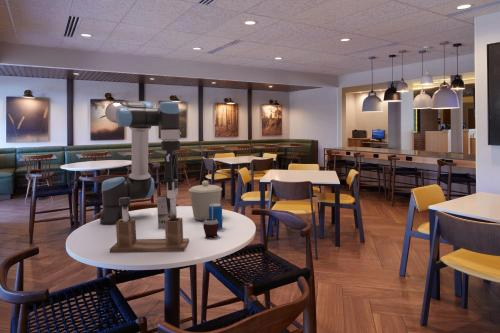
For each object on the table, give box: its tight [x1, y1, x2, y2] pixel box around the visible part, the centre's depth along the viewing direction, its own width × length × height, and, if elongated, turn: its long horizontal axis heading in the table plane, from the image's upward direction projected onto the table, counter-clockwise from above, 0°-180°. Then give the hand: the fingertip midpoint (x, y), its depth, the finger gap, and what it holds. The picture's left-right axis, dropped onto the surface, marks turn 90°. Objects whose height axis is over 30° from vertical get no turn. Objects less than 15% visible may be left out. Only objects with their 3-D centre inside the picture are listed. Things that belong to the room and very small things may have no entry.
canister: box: [188, 180, 223, 222], centre depth 191 cm, size 18×18×21 cm
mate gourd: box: [202, 202, 219, 239], centre depth 159 cm, size 8×8×15 cm
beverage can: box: [209, 203, 223, 231], centre depth 171 cm, size 6×6×12 cm
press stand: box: [109, 217, 190, 254], centre depth 146 cm, size 12×30×12 cm, turn 90°
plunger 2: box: [170, 179, 179, 221], centre depth 145 cm, size 4×4×18 cm
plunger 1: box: [119, 197, 131, 222], centre depth 145 cm, size 4×4×18 cm
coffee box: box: [156, 193, 171, 230], centre depth 177 cm, size 9×6×16 cm
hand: (172, 196), depth 145 cm, fingers open, 6 cm apart
